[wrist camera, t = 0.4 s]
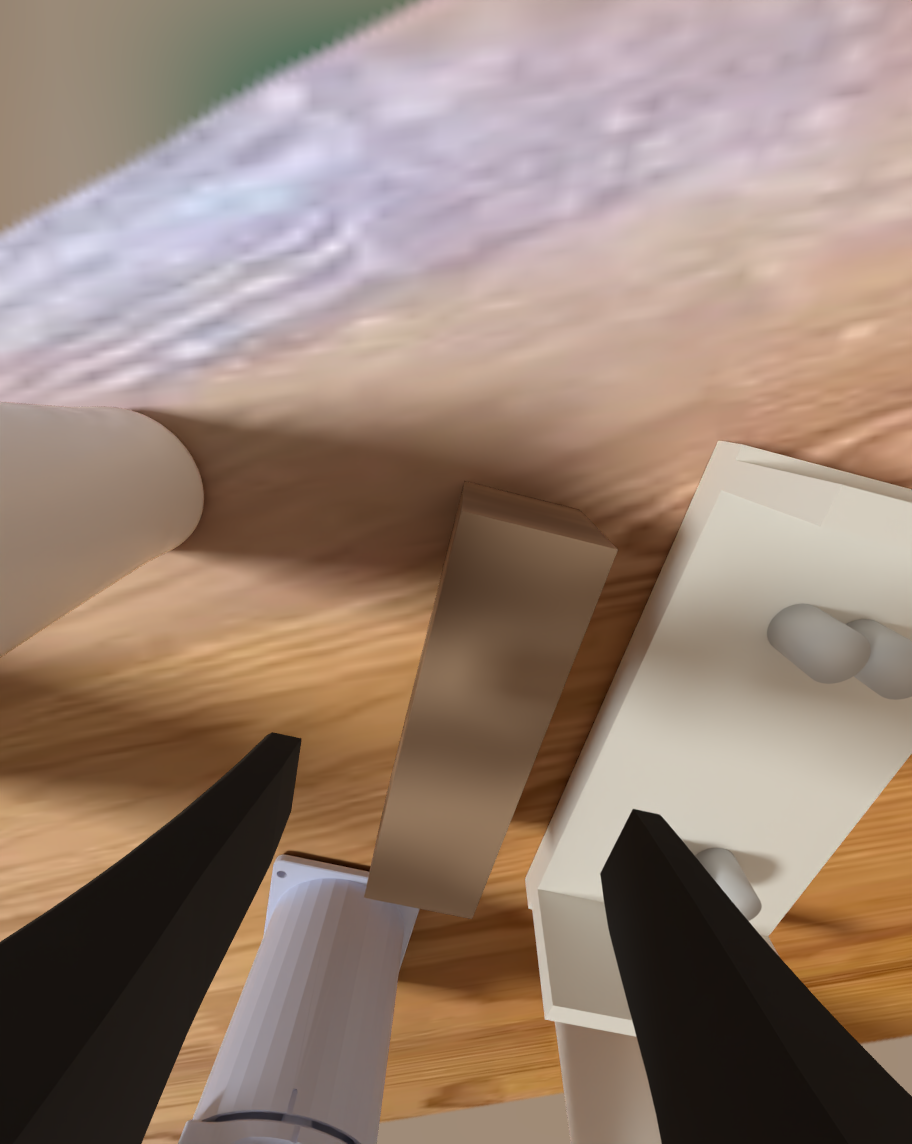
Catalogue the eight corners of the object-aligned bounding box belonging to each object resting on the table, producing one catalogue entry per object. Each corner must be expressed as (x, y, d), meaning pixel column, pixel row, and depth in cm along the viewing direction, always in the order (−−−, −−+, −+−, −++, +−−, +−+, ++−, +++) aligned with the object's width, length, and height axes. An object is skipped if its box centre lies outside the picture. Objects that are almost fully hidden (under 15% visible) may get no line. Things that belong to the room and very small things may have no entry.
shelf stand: (737, 922, 24) (816, 1078, 19) (525, 878, 24) (541, 1026, 18) (1030, 523, 16) (1323, 588, 11) (718, 440, 16) (855, 462, 10)
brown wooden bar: (472, 811, 23) (472, 919, 18) (386, 794, 22) (363, 897, 18) (578, 508, 17) (617, 549, 12) (464, 479, 17) (461, 510, 12)
